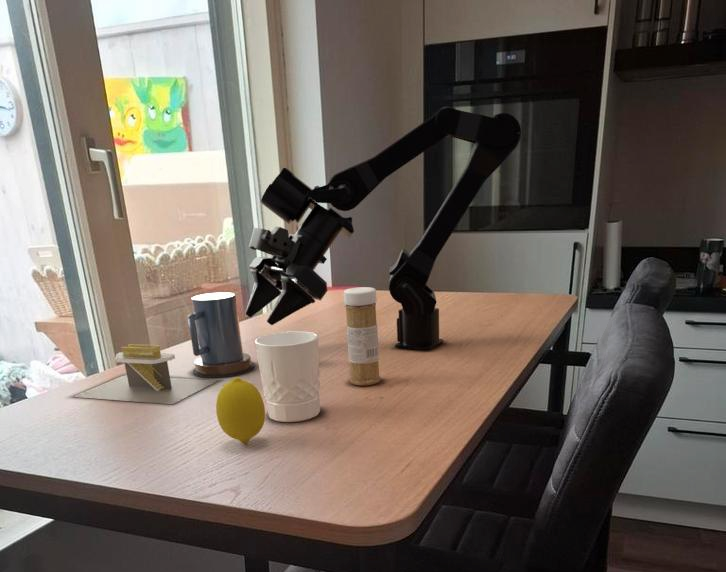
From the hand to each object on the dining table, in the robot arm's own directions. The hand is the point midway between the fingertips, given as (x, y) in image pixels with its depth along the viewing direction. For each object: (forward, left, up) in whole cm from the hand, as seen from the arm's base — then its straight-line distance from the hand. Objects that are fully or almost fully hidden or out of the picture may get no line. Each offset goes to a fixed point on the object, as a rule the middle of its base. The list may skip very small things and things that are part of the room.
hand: (258, 319), depth 115 cm
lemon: (-23, +31, -7) cm, 39 cm away
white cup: (-22, +20, -7) cm, 30 cm away
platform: (+7, +19, -7) cm, 22 cm away
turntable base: (+3, +6, -7) cm, 10 cm away
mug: (+3, +6, -7) cm, 10 cm away
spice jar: (-23, +4, -7) cm, 24 cm away
